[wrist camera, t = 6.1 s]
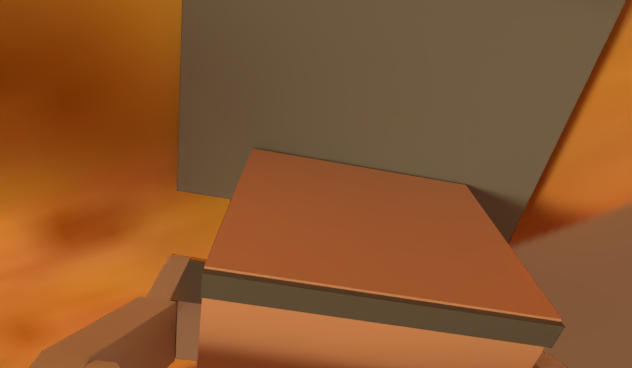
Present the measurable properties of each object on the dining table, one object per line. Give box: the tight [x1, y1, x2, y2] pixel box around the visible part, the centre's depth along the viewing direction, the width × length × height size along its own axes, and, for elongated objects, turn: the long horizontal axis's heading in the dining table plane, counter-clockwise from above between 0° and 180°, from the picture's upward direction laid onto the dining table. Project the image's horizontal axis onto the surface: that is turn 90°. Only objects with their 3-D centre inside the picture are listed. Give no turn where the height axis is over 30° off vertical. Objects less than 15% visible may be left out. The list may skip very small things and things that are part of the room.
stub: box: [197, 148, 565, 368], centre depth 10 cm, size 6×6×5 cm
